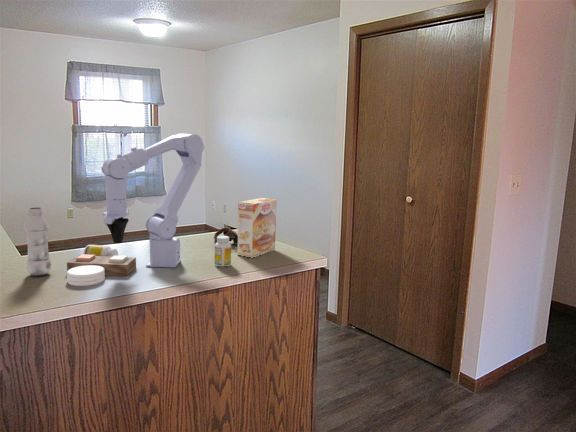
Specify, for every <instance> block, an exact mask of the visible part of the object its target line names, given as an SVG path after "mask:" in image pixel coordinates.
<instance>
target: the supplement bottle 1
mask: <svg viewBox="0 0 576 432" xmlns="http://www.w3.org/2000/svg"><path fill="white" fill-rule="evenodd" d="M83 254H87V255H95V256H107V257H113V256H114V255H115V256H119V251H118V249H116V248H112V247H111V246H108V245H101V244H87V245H86V246H85V247H84V250H83Z"/></svg>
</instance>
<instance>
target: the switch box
mask: <svg viewBox="0 0 576 432" xmlns="http://www.w3.org/2000/svg"><path fill="white" fill-rule="evenodd" d="M79 256H80V255H78V256H76V257H74V258H73V259H71V260H69V261H67V262H66V271H68V270H70V269H71V268H74V267H78V266H85V265H97V266H101V267H103V268H104V269H105V272H104V273H105V276H116V277H118V276H119V277H120V276H121V277H128V276H129V275H130V274H131V273H132V272H134V271H135V270H136V269H137V257H135V256H134V257H132V256H130V257H129V256H127V261H126V262H124V263H110V262H109V259H110V258H112V257H107V256H95V259H94V260H93V261H91V262H78V261H77V260H76V258H77V257H79Z"/></svg>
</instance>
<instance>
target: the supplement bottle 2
mask: <svg viewBox="0 0 576 432" xmlns="http://www.w3.org/2000/svg"><path fill="white" fill-rule="evenodd" d="M213 263H214V266H215V265H216V266H215V267H217V266H228V267H230V266H231V265H232V264H231V263H232V244H231V243H230V241H229V237H228V236H224V235H218V237H217V243H216V244H214V262H213ZM229 265H230V266H229Z"/></svg>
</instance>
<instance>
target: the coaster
mask: <svg viewBox="0 0 576 432" xmlns="http://www.w3.org/2000/svg"><path fill="white" fill-rule="evenodd" d="M66 271H67V270H66ZM104 272H105V269H104V268H103V267H101V266H97V265H85V266H78V267H74V268H71V269H70V270H68V271H67V272H66V275H67V276H66V279H67V280H66V281H67V284H68V285H70V286H73V287H88V286H93V285H98V284H101V283H103V282H104V281H105V280H106V275H105V273H104Z"/></svg>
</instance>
